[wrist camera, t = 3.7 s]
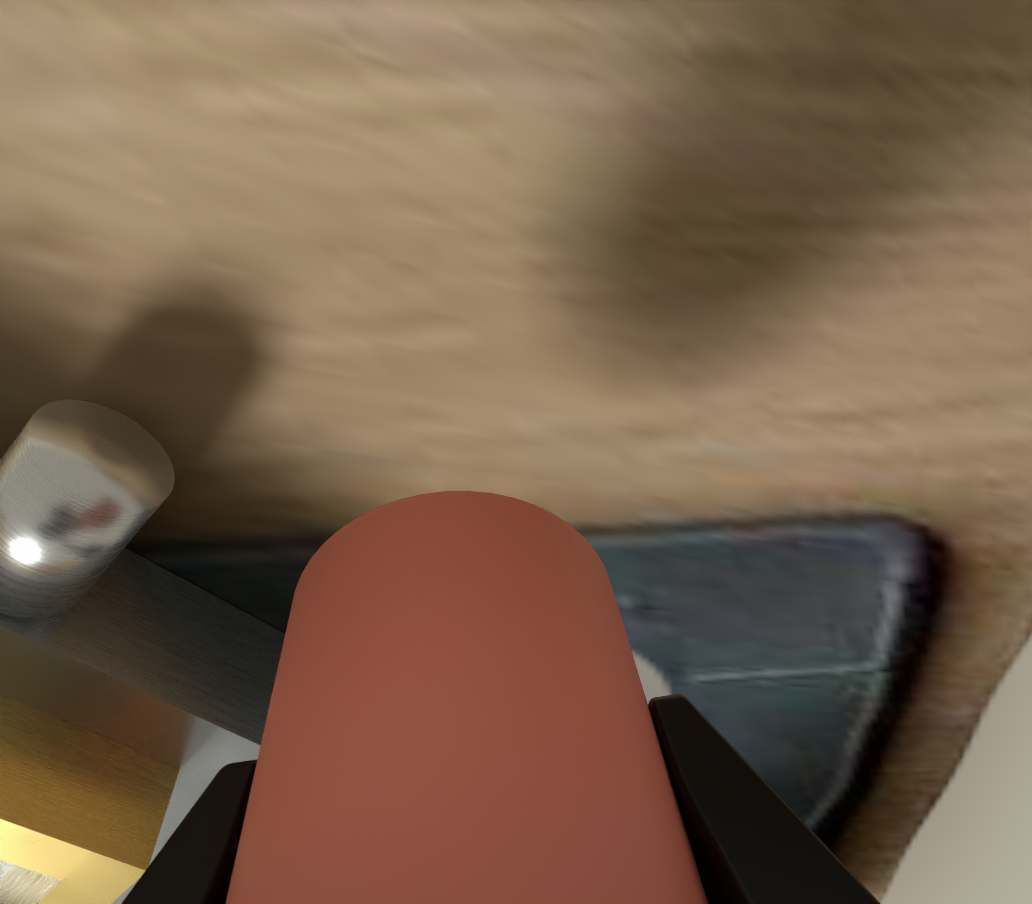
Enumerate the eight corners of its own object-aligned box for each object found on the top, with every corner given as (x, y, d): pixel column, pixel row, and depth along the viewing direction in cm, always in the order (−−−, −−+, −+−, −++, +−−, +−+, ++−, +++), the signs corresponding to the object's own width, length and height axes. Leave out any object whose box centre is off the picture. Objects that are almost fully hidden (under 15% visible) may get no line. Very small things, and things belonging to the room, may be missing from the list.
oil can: (677, 604, 11) (1007, 1425, 5) (467, 768, 12) (508, 1564, 6) (438, 426, 9) (457, 1392, 3) (224, 643, 11) (-74, 1605, 4)
